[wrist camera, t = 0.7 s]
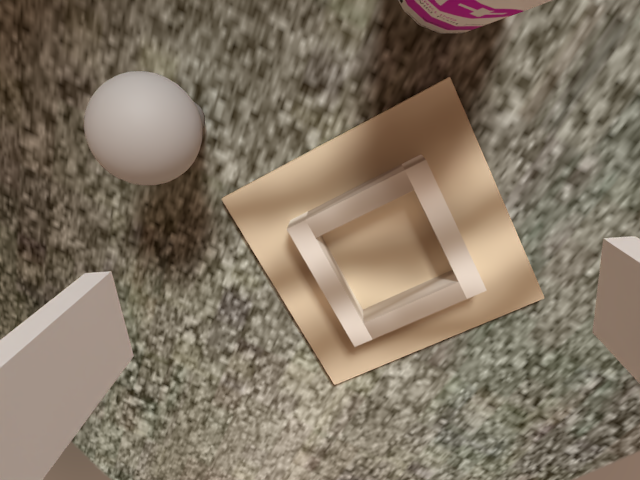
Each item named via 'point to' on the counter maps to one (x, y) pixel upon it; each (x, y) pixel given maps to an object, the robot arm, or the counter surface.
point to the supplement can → (463, 12)
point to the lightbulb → (143, 128)
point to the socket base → (388, 236)
